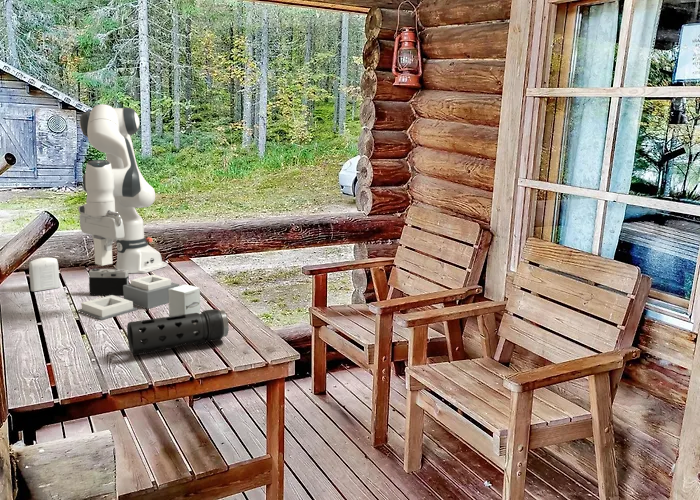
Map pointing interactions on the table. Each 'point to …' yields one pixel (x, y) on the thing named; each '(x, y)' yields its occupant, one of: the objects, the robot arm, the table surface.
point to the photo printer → (44, 274)
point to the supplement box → (184, 300)
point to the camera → (108, 281)
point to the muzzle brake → (176, 331)
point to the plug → (101, 251)
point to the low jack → (107, 307)
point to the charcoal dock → (148, 291)
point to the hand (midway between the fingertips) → (103, 249)
